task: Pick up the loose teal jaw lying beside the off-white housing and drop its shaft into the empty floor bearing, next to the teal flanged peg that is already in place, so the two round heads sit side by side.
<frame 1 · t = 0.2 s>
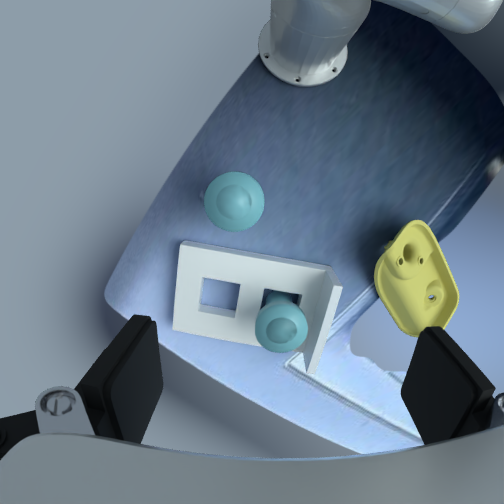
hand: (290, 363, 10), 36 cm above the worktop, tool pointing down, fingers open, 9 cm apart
plastic component: (410, 273, 47), on the worktop
teal flanged peg: (278, 301, 48), resting in housing
housing: (249, 296, 48), on the worktop
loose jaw: (240, 194, 44), on the worktop
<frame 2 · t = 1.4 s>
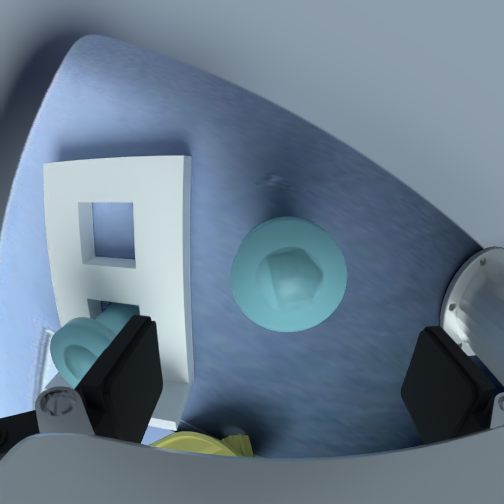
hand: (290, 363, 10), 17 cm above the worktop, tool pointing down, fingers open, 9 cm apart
plastic component: (211, 454, 35), on the worktop
teal flanged peg: (125, 317, 30), resting in housing
housing: (121, 275, 28), on the worktop
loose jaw: (283, 243, 27), on the worktop
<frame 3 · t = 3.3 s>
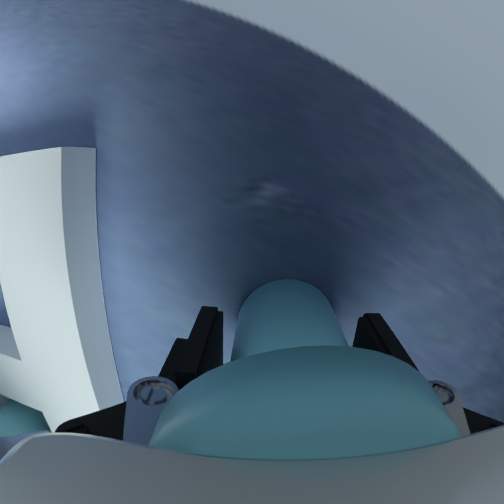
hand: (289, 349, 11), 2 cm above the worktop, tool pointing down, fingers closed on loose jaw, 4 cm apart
teal flanged peg: (42, 407, 15), resting in housing
housing: (21, 352, 14), on the worktop
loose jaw: (286, 324, 13), on the worktop, touching gripper
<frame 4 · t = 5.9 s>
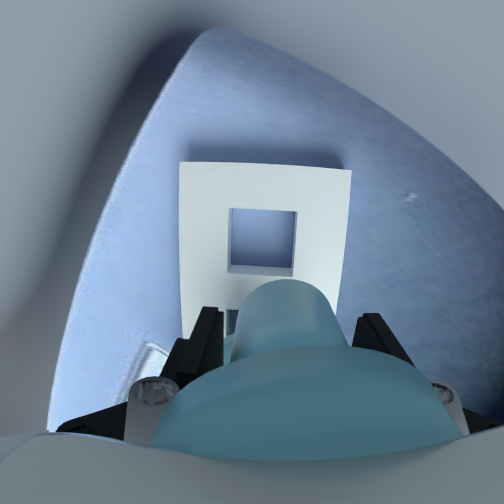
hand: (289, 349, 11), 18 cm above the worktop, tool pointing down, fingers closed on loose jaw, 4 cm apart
housing: (259, 283, 30), on the worktop
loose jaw: (285, 324, 13), point 16 cm above the worktop, touching gripper
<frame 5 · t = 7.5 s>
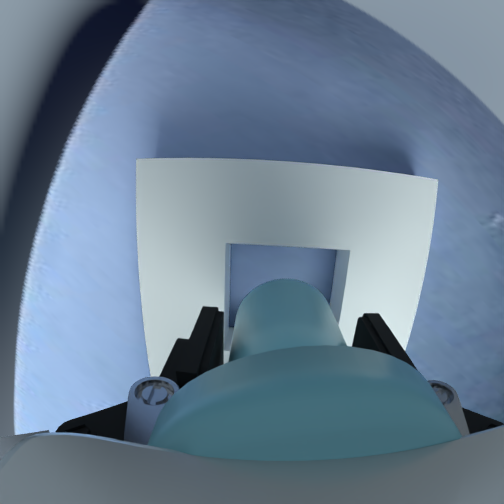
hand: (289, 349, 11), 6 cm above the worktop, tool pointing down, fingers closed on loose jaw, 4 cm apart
housing: (275, 354, 18), on the worktop
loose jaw: (284, 324, 13), point 4 cm above the worktop, touching gripper
when the fingers open (4 cm above the worktop, at t = 8.4 s): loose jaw drops 2 cm, resting in housing.
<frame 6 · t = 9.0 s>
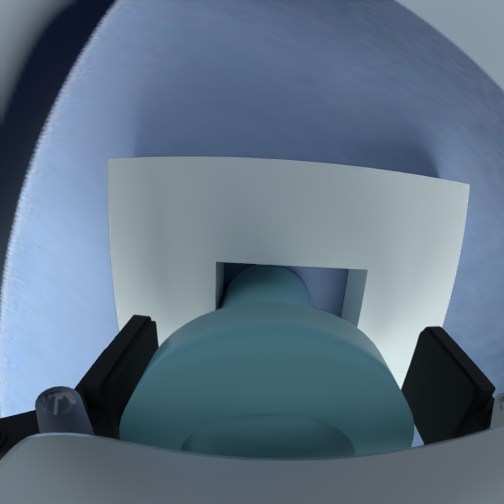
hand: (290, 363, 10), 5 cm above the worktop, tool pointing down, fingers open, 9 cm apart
housing: (275, 382, 16), on the worktop
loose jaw: (266, 305, 14), resting in housing
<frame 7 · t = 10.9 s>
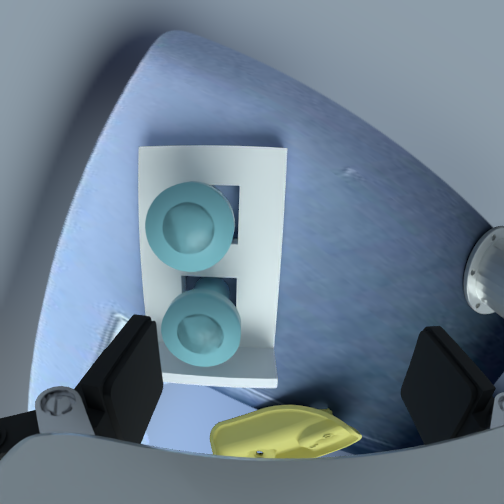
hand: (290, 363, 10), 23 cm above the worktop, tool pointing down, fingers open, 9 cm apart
plastic component: (284, 428, 41), on the worktop
teal flanged peg: (211, 292, 34), resting in housing
housing: (211, 253, 33), on the worktop
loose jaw: (204, 210, 32), resting in housing
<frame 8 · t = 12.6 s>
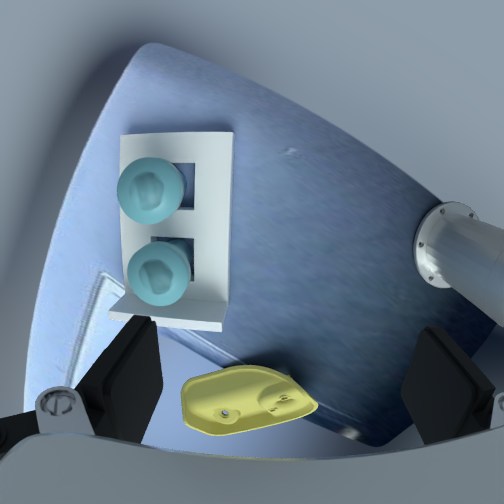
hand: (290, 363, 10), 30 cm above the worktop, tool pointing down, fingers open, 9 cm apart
plastic component: (250, 392, 47), on the worktop
teal flanged peg: (177, 253, 41), resting in housing
housing: (177, 219, 40), on the worktop
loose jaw: (171, 184, 39), resting in housing
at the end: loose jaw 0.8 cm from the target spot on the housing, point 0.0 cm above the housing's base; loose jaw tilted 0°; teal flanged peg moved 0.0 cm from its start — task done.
